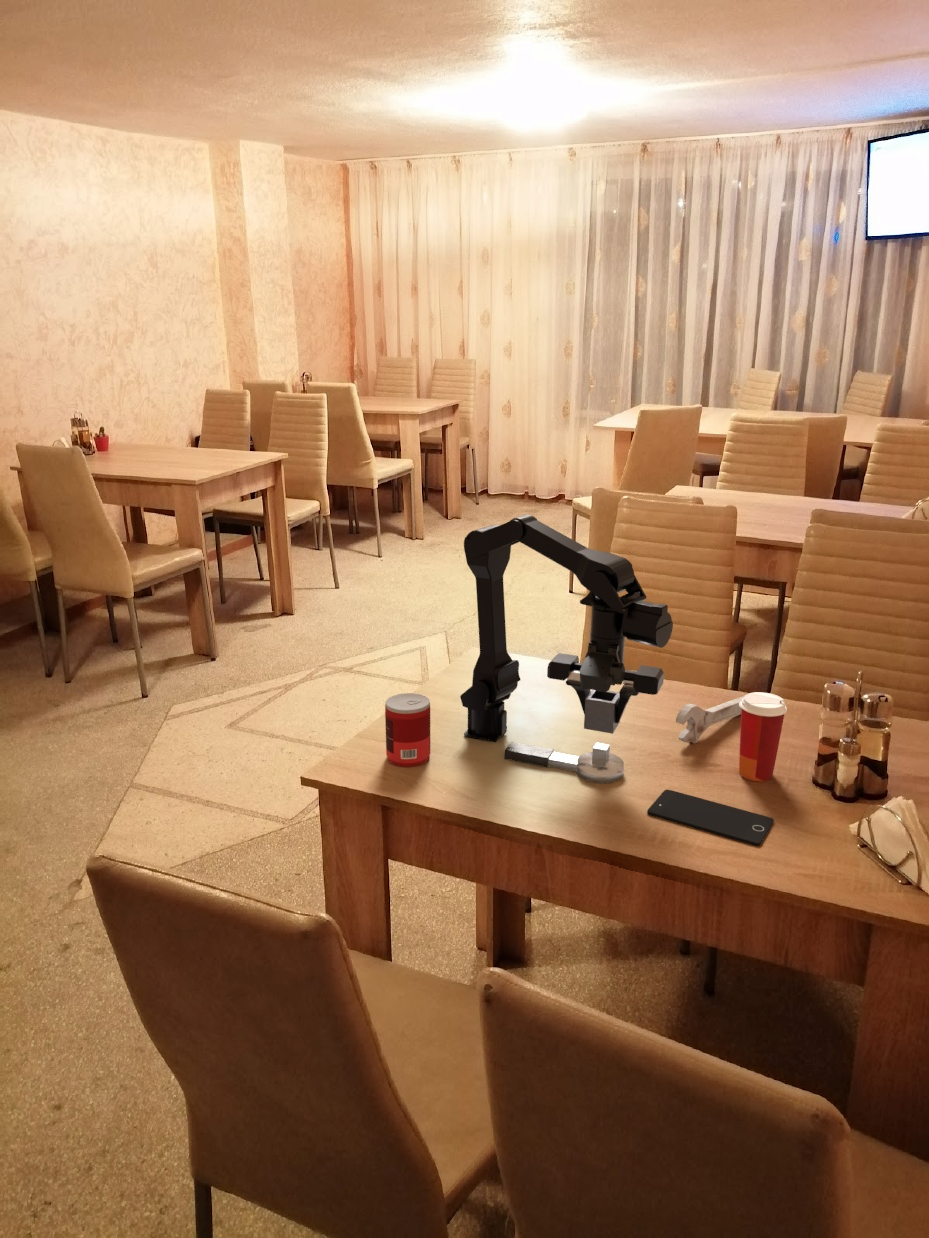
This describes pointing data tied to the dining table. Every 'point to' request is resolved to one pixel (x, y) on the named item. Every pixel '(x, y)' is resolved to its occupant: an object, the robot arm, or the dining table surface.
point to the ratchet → (572, 761)
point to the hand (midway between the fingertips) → (602, 719)
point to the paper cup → (760, 734)
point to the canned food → (407, 729)
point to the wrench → (704, 718)
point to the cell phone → (711, 817)
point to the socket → (601, 711)
